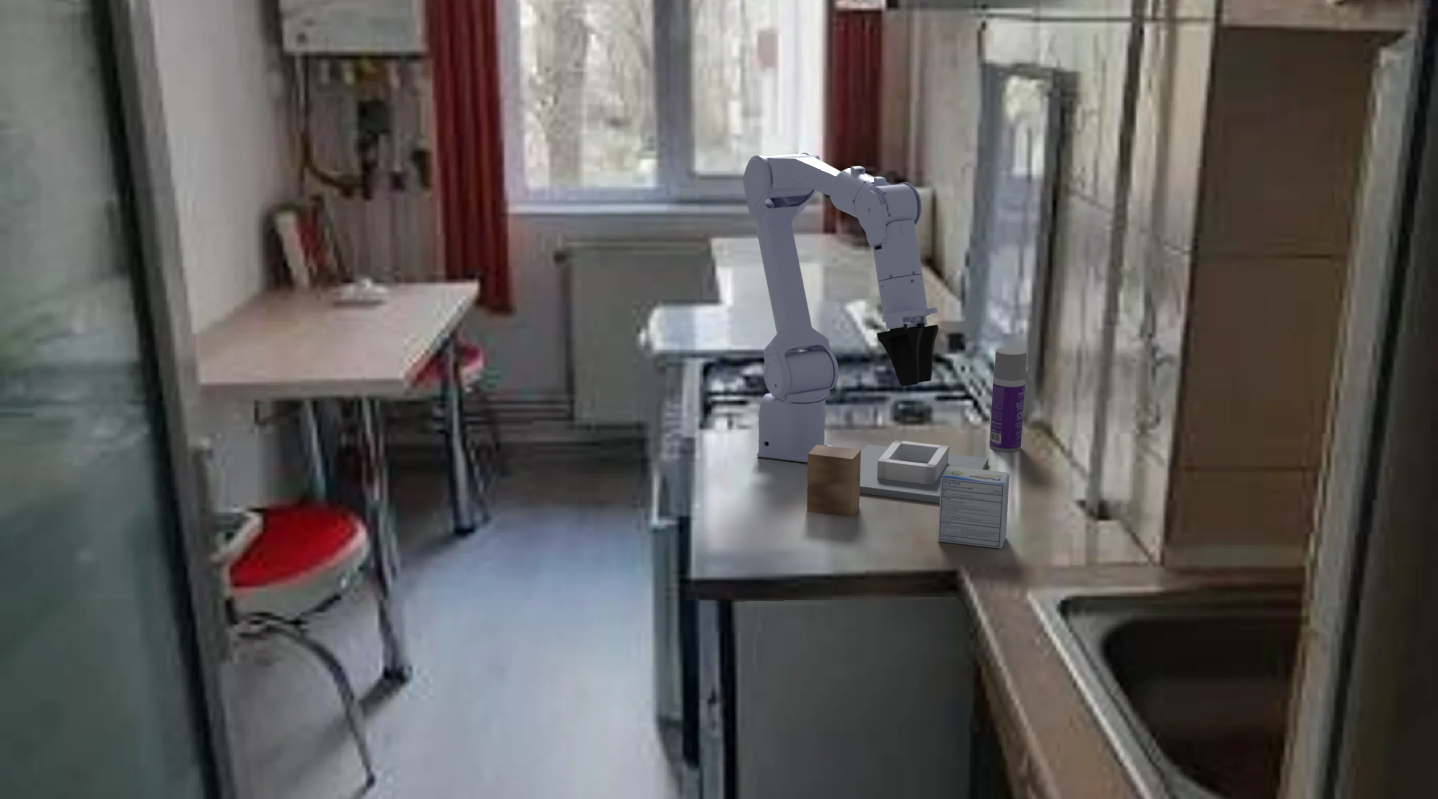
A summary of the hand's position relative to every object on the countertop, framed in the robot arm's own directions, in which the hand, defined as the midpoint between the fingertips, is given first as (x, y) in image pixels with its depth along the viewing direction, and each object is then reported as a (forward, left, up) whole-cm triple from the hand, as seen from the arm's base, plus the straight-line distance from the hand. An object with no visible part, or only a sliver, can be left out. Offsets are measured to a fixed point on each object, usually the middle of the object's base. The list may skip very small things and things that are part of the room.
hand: (916, 383), depth 162 cm
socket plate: (-3, +13, -17) cm, 21 cm away
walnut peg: (-10, -3, -17) cm, 20 cm away
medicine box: (+9, -7, -17) cm, 21 cm away
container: (+7, +31, -17) cm, 36 cm away
